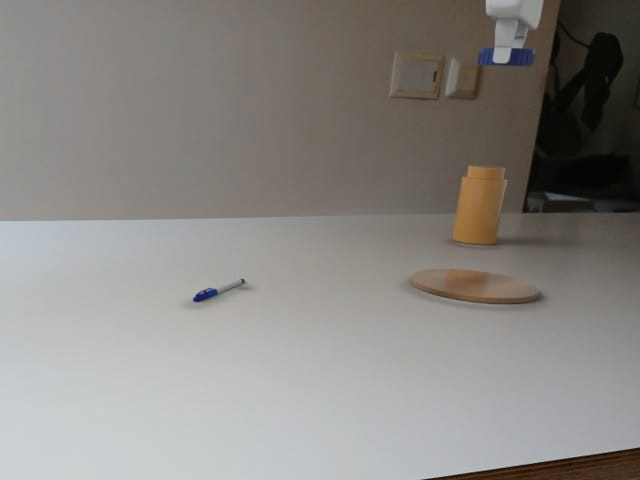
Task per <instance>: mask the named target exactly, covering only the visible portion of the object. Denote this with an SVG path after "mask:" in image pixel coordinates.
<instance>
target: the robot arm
mask: <svg viewBox="0 0 640 480" xmlns="http://www.w3.org/2000/svg"><path fill="white" fill-rule="evenodd" d="M544 1H545V0H485V12H486V15H487V16H489V17H490V18H492V19H493V20H495V21H496V23H495V29H494V48H495V49H494V55H493V62H495V63H498V64H507V63H509V62H510V61H511V55H512V51H513V48H523V47H524V44H525V42H526V39H527V34H528V31H535V30H537V29H538V28H539V27H538V26H539V24H540V21H541V18H542V17H541V16H542V11H543V6H544ZM505 67H507V68H513V67H512V66H504V68H505Z"/></svg>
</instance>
